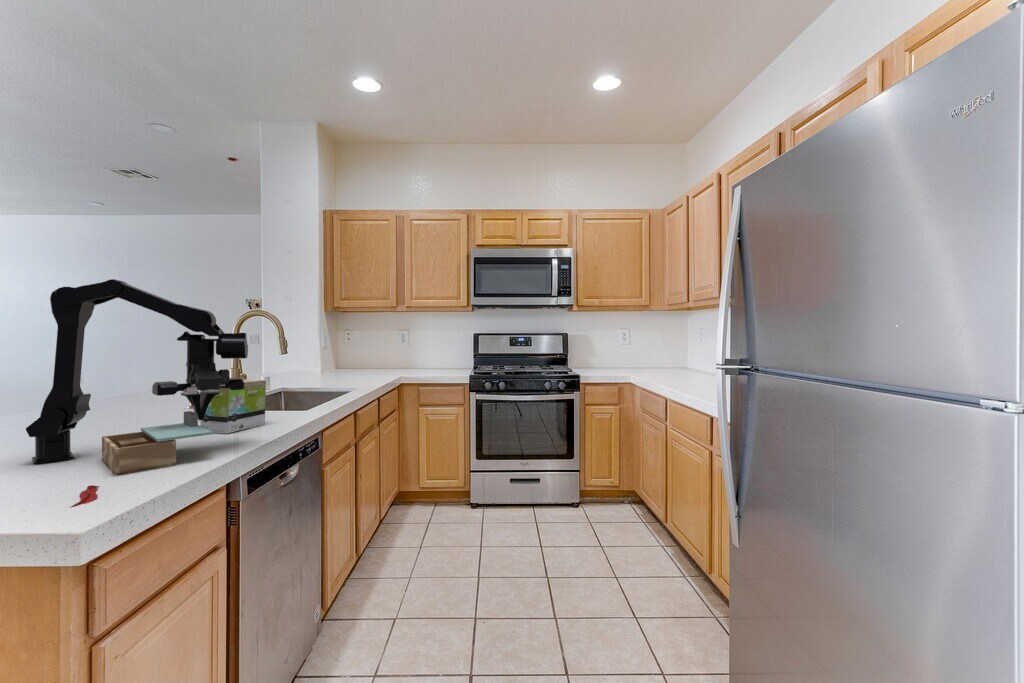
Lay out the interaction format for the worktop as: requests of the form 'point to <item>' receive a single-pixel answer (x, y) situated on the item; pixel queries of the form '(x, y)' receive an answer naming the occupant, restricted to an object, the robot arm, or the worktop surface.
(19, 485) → the worktop surface
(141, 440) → the walnut block
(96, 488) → the cayenne pepper
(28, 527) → the worktop surface
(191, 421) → the lid
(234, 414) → the tea box
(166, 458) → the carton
